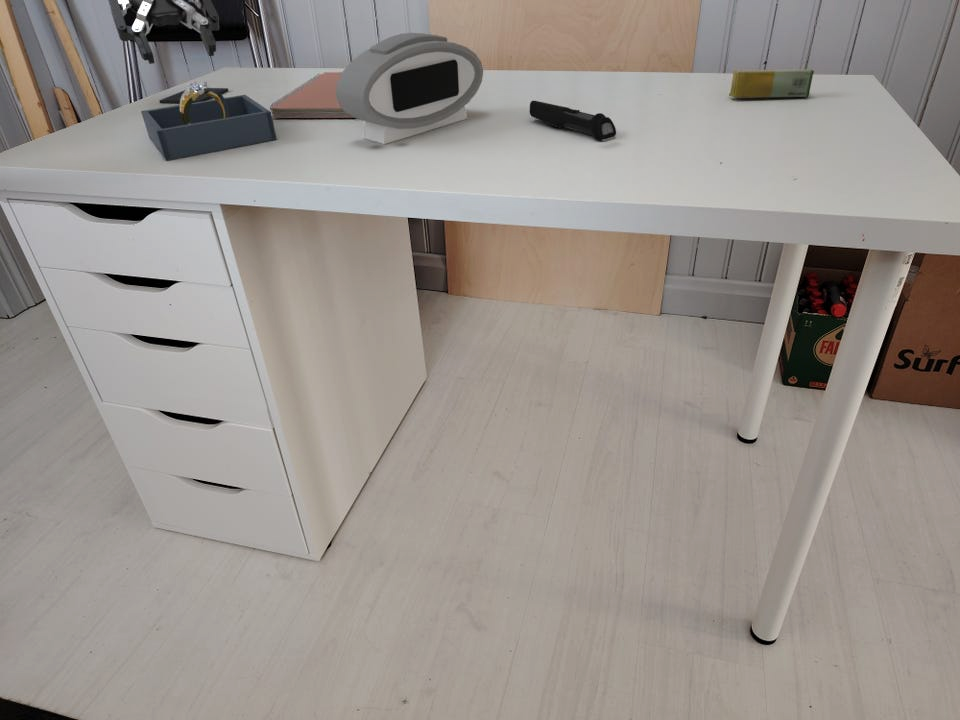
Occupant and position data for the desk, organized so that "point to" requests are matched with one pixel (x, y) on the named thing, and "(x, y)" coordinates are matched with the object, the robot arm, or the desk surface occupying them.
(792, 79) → the medication box
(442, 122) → the alarm clock
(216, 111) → the dark blue tray
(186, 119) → the ring
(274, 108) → the notebook
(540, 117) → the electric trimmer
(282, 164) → the desk surface
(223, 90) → the mat
